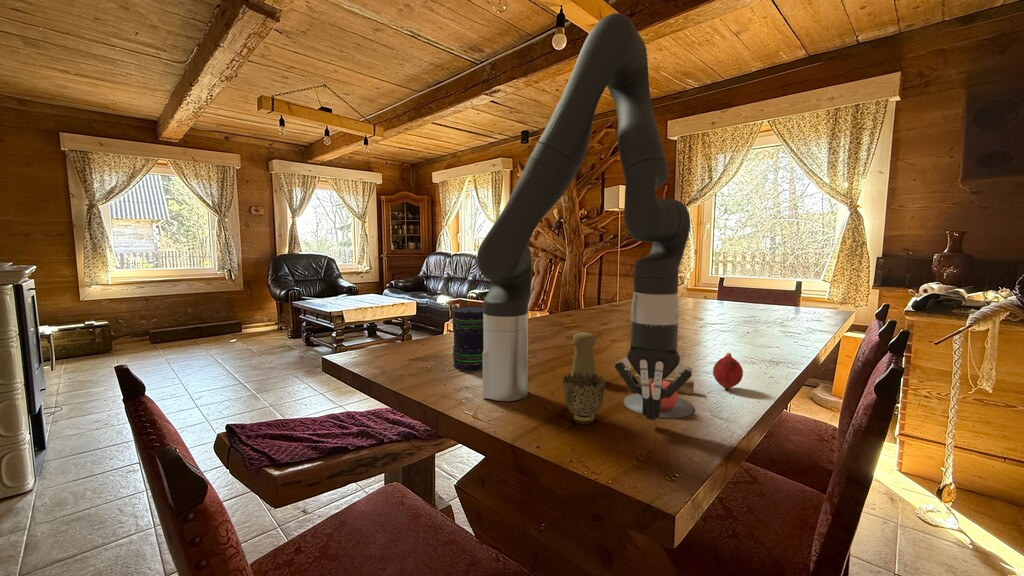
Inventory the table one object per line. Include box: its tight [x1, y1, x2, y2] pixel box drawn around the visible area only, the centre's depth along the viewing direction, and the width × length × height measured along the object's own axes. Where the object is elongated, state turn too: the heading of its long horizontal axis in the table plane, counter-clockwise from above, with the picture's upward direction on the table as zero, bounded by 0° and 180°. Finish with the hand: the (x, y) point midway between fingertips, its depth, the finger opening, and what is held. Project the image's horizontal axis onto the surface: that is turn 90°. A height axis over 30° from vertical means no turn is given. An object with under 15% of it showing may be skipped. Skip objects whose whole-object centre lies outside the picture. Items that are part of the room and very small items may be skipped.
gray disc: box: [623, 393, 695, 419], centre depth 85 cm, size 13×13×1 cm
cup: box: [562, 372, 606, 425], centre depth 76 cm, size 8×7×8 cm
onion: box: [712, 352, 744, 390], centre depth 93 cm, size 6×6×8 cm
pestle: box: [570, 331, 597, 376], centre depth 100 cm, size 6×6×11 cm
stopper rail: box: [634, 373, 695, 395], centre depth 93 cm, size 12×2×2 cm, turn 65°
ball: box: [651, 380, 679, 410], centre depth 82 cm, size 6×6×6 cm
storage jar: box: [451, 305, 483, 372], centre depth 111 cm, size 10×10×15 cm
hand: (651, 418), depth 74 cm, fingers closed
